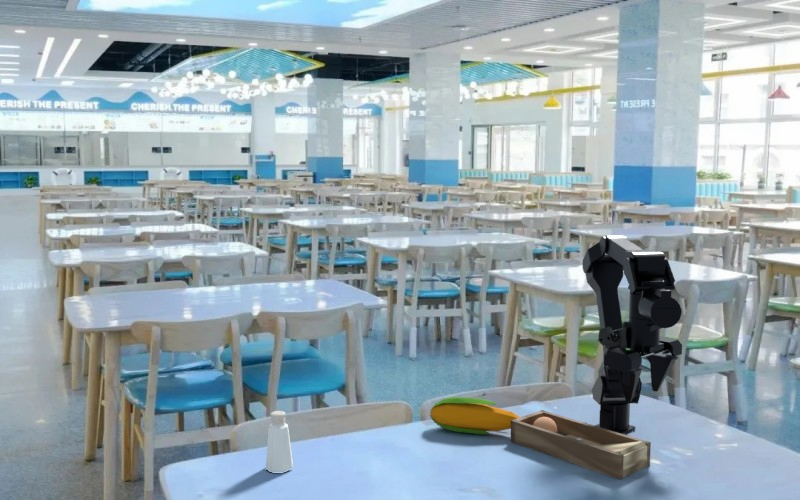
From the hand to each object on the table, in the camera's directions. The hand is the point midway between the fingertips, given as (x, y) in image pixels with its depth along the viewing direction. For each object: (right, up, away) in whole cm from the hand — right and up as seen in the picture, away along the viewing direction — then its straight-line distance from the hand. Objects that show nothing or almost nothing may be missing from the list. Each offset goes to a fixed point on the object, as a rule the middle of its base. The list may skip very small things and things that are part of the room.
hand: (642, 395), depth 159 cm
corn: (-31, -11, +16) cm, 36 cm away
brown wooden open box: (-12, -12, +3) cm, 17 cm away
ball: (-17, -8, +9) cm, 21 cm away
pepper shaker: (-70, -13, -4) cm, 71 cm away
